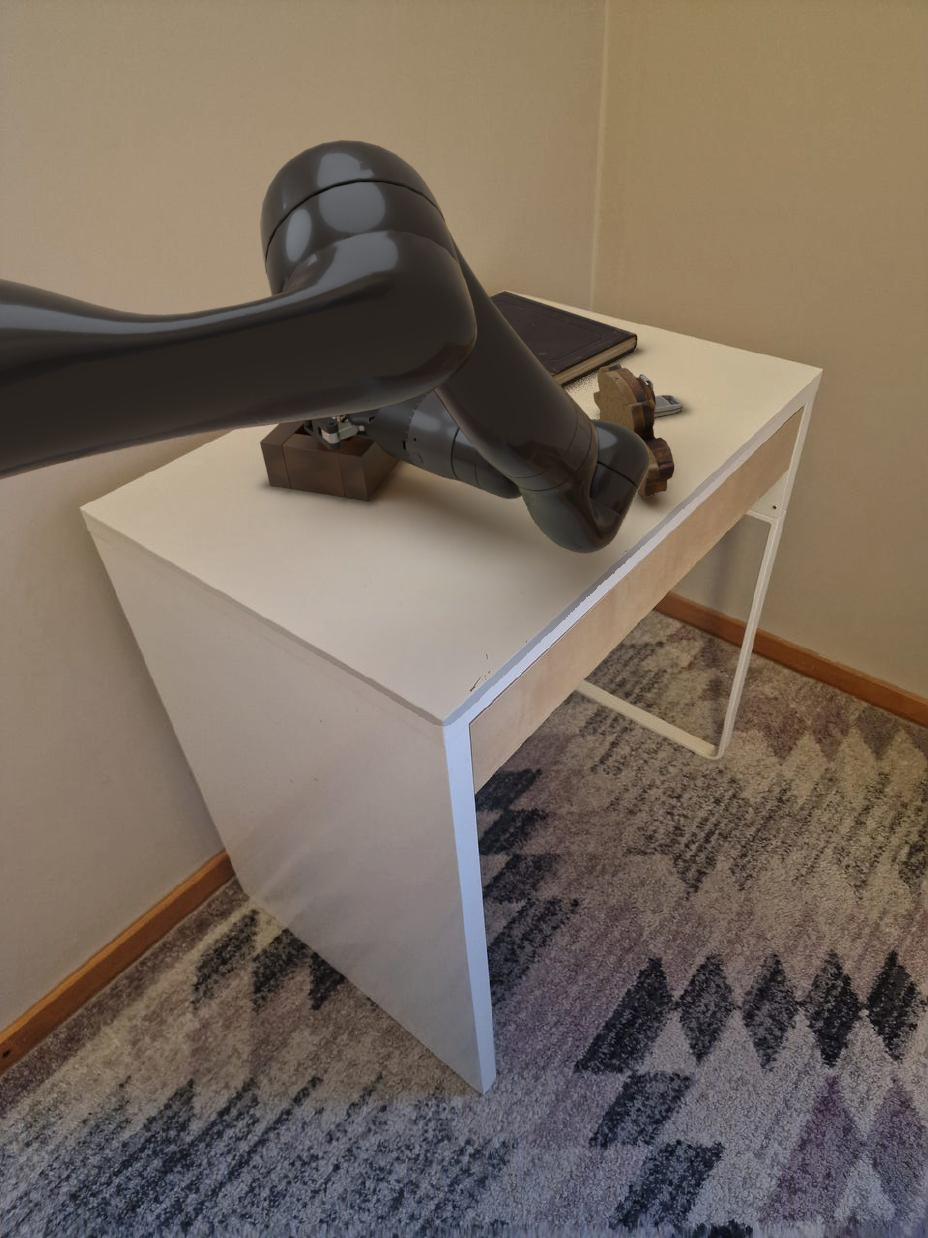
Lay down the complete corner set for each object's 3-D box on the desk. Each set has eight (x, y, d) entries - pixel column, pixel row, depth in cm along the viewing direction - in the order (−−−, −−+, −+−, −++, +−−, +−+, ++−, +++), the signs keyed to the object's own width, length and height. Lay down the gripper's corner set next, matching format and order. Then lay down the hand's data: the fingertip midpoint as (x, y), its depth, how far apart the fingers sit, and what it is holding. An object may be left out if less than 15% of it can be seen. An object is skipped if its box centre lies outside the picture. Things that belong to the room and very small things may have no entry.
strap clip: (670, 400, 97) (674, 365, 94) (683, 412, 95) (688, 376, 92) (601, 414, 96) (603, 378, 93) (613, 426, 93) (615, 390, 91)
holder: (269, 485, 88) (259, 442, 85) (319, 433, 96) (312, 391, 92) (368, 501, 85) (361, 456, 81) (411, 446, 92) (407, 403, 89)
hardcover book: (550, 393, 100) (551, 374, 98) (422, 341, 113) (421, 324, 112) (637, 349, 108) (638, 331, 106) (507, 305, 121) (507, 289, 120)
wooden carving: (688, 506, 81) (701, 410, 74) (643, 516, 80) (653, 419, 74) (616, 428, 93) (622, 339, 86) (577, 435, 92) (580, 346, 86)
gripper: (486, 362, 79) (357, 323, 87) (378, 424, 71) (247, 374, 79) (489, 435, 84) (367, 391, 92) (388, 501, 76) (264, 446, 84)
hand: (312, 384), depth 86 cm, fingers closed on carrot, 5 cm apart
